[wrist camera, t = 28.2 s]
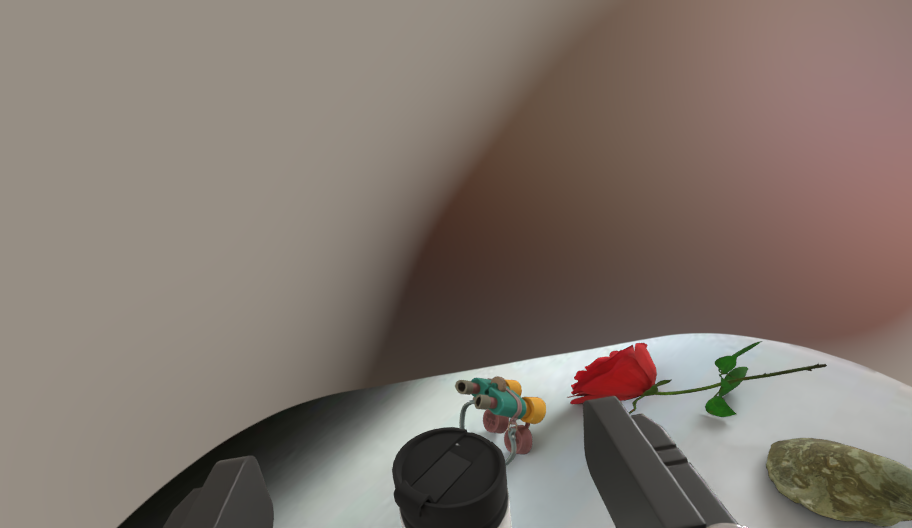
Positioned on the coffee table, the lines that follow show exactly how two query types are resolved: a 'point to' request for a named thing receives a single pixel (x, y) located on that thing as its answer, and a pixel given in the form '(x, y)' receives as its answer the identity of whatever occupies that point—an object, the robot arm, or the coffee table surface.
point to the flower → (637, 376)
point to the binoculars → (504, 410)
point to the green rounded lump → (841, 481)
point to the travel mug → (451, 481)
